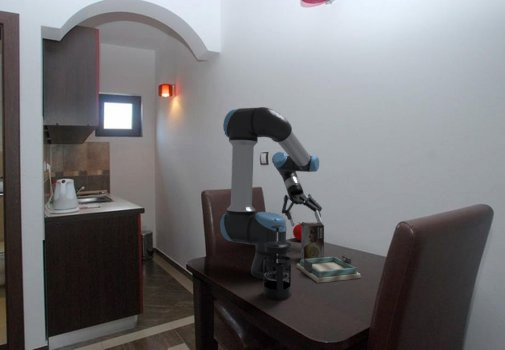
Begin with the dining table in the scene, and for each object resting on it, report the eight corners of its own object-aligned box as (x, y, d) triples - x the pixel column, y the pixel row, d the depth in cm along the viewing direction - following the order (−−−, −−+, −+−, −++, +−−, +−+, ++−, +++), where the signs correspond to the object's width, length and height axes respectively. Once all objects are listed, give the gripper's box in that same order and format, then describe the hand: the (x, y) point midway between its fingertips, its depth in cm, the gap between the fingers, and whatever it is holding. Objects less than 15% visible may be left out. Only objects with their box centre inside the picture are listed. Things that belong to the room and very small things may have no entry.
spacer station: (317, 282, 126) (317, 268, 126) (296, 267, 144) (297, 254, 143) (360, 278, 132) (361, 263, 131) (335, 263, 149) (335, 251, 149)
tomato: (305, 244, 181) (305, 225, 181) (288, 240, 188) (289, 222, 188) (316, 240, 189) (316, 222, 188) (300, 237, 196) (300, 219, 196)
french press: (260, 288, 121) (261, 222, 119) (287, 287, 122) (288, 222, 120) (265, 303, 109) (265, 230, 108) (294, 302, 110) (295, 229, 109)
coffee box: (320, 257, 158) (321, 222, 157) (324, 262, 151) (324, 225, 150) (300, 257, 158) (301, 222, 157) (303, 262, 151) (303, 225, 150)
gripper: (314, 192, 181) (328, 227, 167) (268, 193, 173) (279, 230, 160) (319, 182, 175) (334, 218, 162) (272, 183, 168) (284, 220, 154)
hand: (307, 224), depth 161 cm, fingers open, 13 cm apart
